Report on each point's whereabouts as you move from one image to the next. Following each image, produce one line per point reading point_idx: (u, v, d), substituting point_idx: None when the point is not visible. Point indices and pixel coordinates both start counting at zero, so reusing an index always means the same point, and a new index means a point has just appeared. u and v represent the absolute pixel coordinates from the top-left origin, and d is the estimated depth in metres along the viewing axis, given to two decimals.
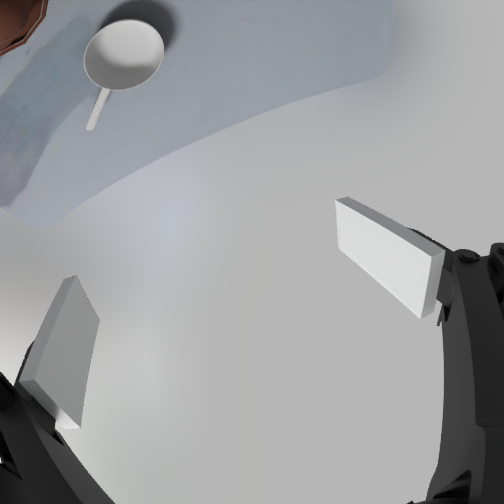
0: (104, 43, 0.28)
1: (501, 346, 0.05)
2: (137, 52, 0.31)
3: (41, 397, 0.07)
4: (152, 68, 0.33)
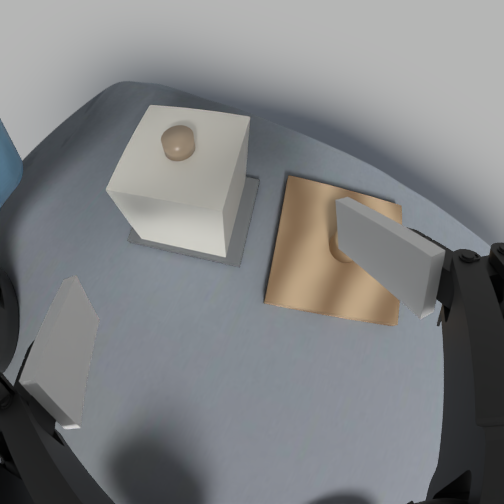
0: None
1: (500, 346, 0.05)
2: None
3: (41, 397, 0.07)
4: None
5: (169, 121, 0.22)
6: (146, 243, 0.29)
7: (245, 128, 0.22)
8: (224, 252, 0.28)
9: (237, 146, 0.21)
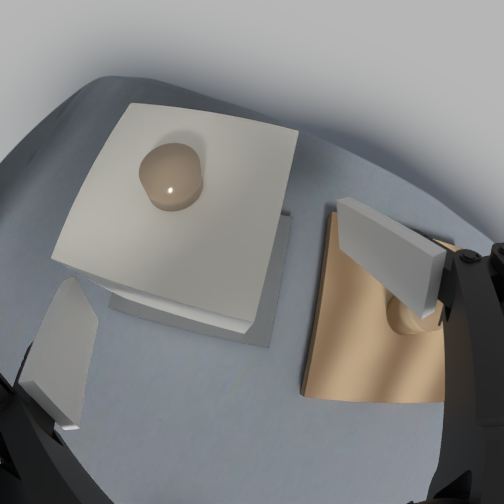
0: None
1: (501, 346, 0.05)
2: None
3: (40, 397, 0.07)
4: None
5: (159, 132, 0.13)
6: (134, 313, 0.20)
7: (292, 152, 0.13)
8: (243, 332, 0.19)
9: (279, 186, 0.12)
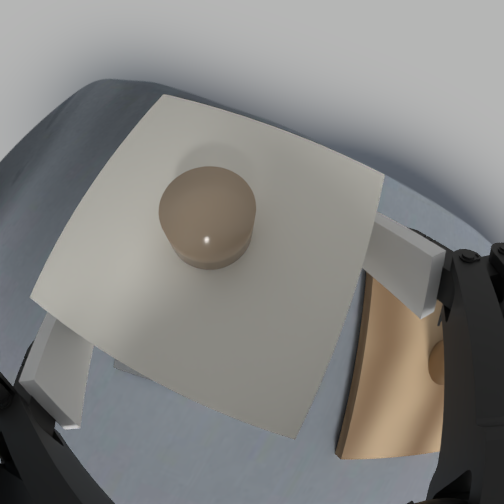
0: None
1: (501, 346, 0.05)
2: None
3: (41, 397, 0.07)
4: None
5: (197, 142, 0.09)
6: (145, 376, 0.16)
7: (375, 204, 0.09)
8: None
9: (356, 254, 0.08)
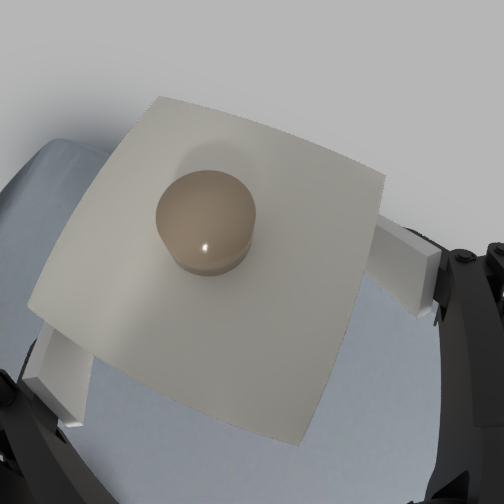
0: None
1: (498, 346, 0.05)
2: None
3: (44, 394, 0.07)
4: None
5: (194, 144, 0.09)
6: None
7: (377, 206, 0.09)
8: None
9: (358, 257, 0.08)
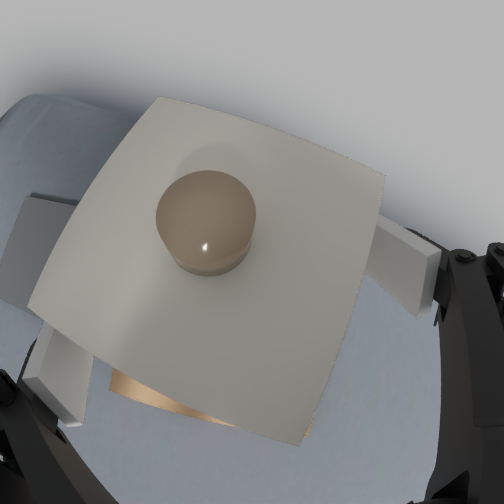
0: None
1: (498, 346, 0.05)
2: None
3: (44, 394, 0.07)
4: None
5: (194, 144, 0.09)
6: (5, 299, 0.19)
7: (377, 206, 0.09)
8: None
9: (358, 257, 0.08)
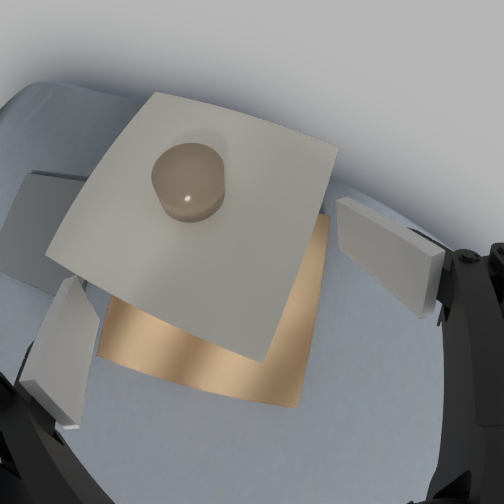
0: None
1: (501, 346, 0.05)
2: None
3: (41, 397, 0.07)
4: None
5: (182, 128, 0.11)
6: (1, 270, 0.19)
7: (329, 170, 0.11)
8: None
9: (311, 209, 0.11)
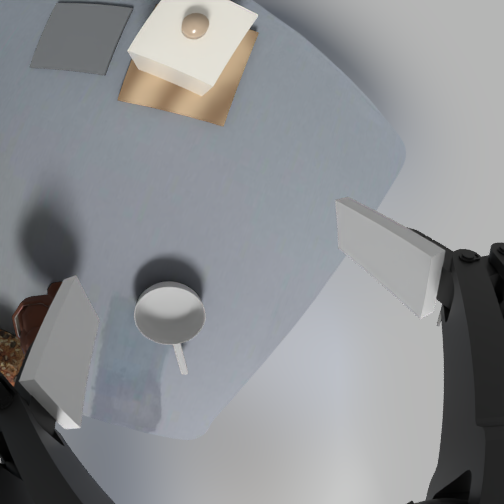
0: (150, 308, 0.44)
1: (500, 346, 0.05)
2: (181, 302, 0.45)
3: (41, 397, 0.07)
4: (202, 310, 0.45)
5: (191, 0, 0.19)
6: (42, 67, 0.24)
7: (251, 24, 0.21)
8: (202, 94, 0.31)
9: (239, 38, 0.22)
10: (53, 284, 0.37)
